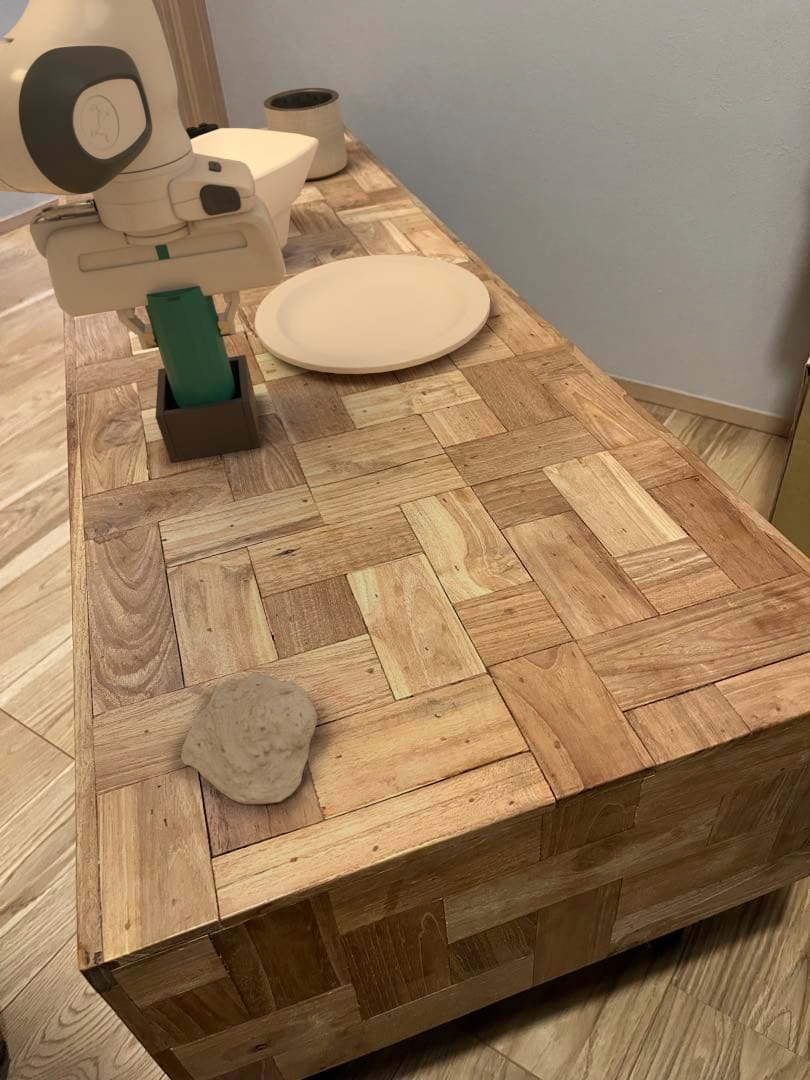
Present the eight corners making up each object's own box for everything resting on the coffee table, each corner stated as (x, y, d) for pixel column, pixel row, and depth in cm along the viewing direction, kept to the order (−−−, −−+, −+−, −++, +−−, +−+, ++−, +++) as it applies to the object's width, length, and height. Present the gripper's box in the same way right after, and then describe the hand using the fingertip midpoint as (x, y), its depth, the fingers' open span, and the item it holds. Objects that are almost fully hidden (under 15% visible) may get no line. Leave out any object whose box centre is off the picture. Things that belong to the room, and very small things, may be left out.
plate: (214, 367, 95) (209, 349, 93) (320, 262, 113) (317, 246, 112) (444, 402, 86) (443, 383, 84) (518, 282, 104) (518, 264, 103)
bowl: (266, 296, 107) (244, 186, 97) (156, 273, 115) (125, 169, 105) (344, 239, 118) (331, 136, 109) (239, 222, 126) (217, 124, 117)
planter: (363, 165, 141) (355, 93, 133) (308, 188, 134) (297, 114, 127) (314, 152, 147) (304, 83, 140) (260, 174, 141) (246, 103, 134)
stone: (167, 679, 58) (297, 633, 57) (198, 715, 61) (322, 672, 60) (157, 802, 51) (306, 752, 50) (193, 836, 54) (335, 789, 53)
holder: (170, 462, 82) (155, 416, 78) (172, 413, 88) (158, 368, 84) (261, 447, 82) (249, 400, 79) (255, 399, 89) (245, 354, 85)
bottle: (175, 416, 80) (124, 257, 69) (176, 384, 84) (128, 230, 73) (236, 405, 80) (195, 246, 70) (234, 374, 85) (195, 219, 74)
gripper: (15, 224, 66) (76, 374, 75) (270, 186, 67) (298, 338, 77) (27, 196, 70) (83, 341, 80) (265, 161, 72) (292, 307, 81)
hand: (190, 339), depth 78 cm, fingers closed on bottle, 6 cm apart
